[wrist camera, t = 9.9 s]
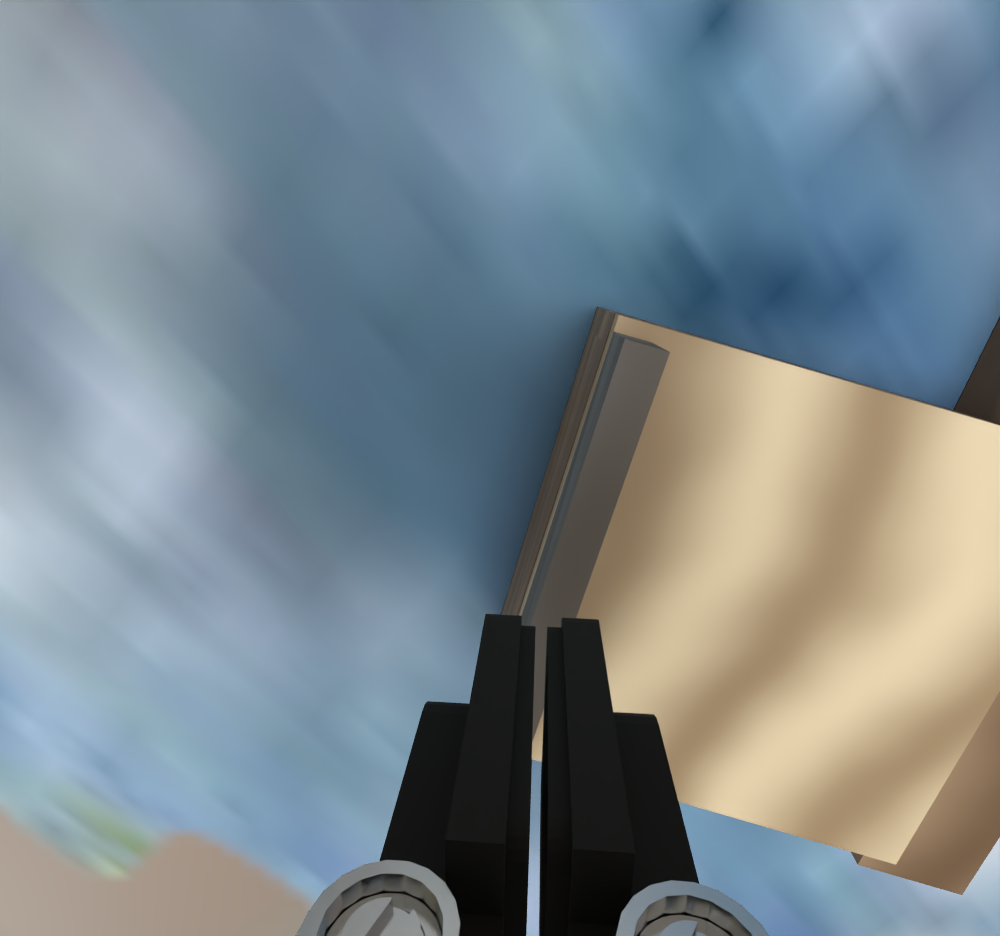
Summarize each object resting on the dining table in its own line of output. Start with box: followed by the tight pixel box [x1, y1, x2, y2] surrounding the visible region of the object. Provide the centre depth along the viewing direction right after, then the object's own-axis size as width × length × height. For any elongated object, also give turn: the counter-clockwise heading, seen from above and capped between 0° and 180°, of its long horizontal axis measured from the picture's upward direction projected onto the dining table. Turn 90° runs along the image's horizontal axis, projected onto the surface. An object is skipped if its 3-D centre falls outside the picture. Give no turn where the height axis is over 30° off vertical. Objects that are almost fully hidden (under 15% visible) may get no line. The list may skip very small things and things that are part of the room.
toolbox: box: [501, 307, 1000, 895], centre depth 25 cm, size 21×28×8 cm
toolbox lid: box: [519, 314, 1000, 865], centre depth 20 cm, size 16×16×4 cm
